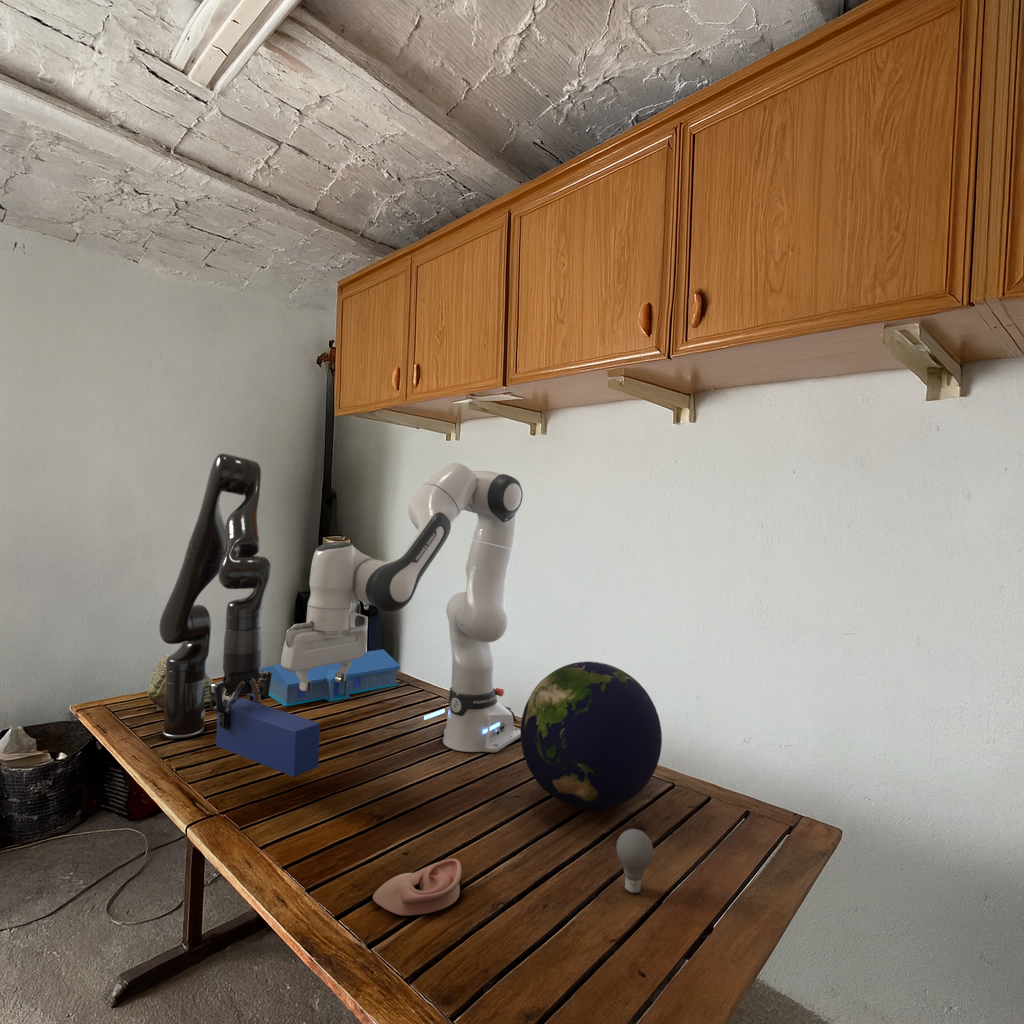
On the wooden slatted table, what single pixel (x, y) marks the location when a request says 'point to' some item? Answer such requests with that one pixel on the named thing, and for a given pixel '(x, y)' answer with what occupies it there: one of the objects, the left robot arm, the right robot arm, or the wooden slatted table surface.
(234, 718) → the box
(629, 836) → the light bulb
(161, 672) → the fossil
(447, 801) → the wooden slatted table surface
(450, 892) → the anatomical model
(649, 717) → the globe
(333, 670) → the model building
